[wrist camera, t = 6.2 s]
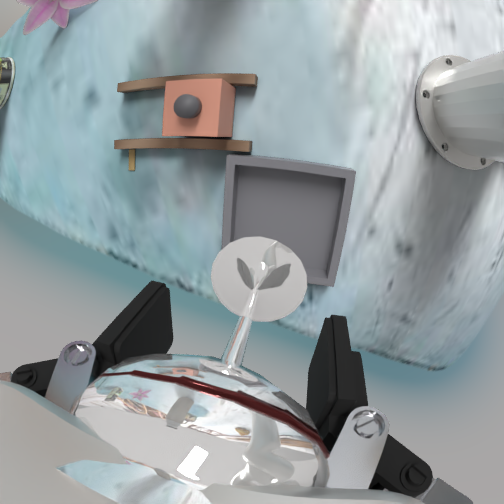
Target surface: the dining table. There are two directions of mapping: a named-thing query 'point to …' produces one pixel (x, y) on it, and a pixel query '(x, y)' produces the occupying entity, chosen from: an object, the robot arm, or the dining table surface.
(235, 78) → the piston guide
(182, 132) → the piston block
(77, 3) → the lily
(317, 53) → the dining table surface
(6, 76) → the coffee can
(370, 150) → the dining table surface
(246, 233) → the tray
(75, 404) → the wineglass
